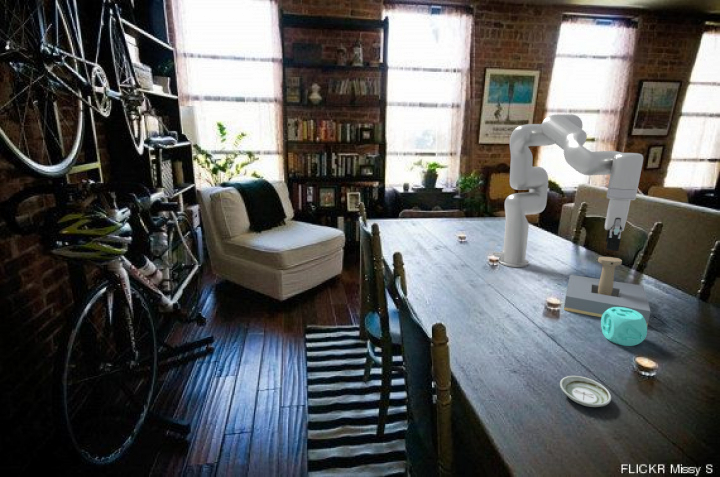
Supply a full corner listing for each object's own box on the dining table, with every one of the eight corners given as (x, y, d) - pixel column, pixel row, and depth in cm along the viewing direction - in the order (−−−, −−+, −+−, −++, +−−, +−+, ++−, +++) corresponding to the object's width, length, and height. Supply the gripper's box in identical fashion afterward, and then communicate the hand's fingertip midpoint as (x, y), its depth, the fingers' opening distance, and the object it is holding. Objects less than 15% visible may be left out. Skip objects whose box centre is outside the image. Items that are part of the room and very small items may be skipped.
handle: (616, 305, 121) (623, 262, 118) (594, 303, 123) (600, 260, 120) (612, 299, 126) (619, 257, 122) (590, 297, 128) (596, 256, 124)
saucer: (561, 408, 79) (563, 398, 78) (556, 380, 87) (557, 371, 87) (615, 418, 75) (617, 408, 75) (603, 389, 84) (605, 380, 83)
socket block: (563, 309, 121) (565, 295, 120) (568, 287, 139) (570, 274, 138) (647, 326, 110) (650, 311, 109) (640, 299, 128) (643, 285, 127)
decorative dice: (644, 347, 99) (650, 320, 97) (611, 345, 101) (616, 318, 99) (629, 332, 107) (633, 307, 105) (598, 330, 108) (603, 305, 106)
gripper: (606, 189, 124) (598, 237, 129) (607, 197, 110) (597, 251, 115) (634, 190, 120) (624, 241, 125) (638, 199, 106) (627, 255, 111)
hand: (611, 246), depth 120 cm, fingers open, 9 cm apart
